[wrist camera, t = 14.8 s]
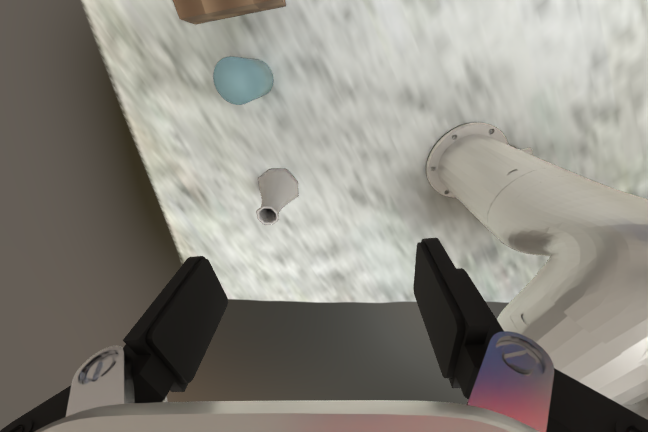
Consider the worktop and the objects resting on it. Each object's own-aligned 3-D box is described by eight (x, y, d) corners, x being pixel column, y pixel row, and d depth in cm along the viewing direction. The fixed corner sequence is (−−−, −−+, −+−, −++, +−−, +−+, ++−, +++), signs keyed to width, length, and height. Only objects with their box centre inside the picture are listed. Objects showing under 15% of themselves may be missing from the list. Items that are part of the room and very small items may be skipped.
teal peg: (268, 56, 33) (248, 52, 24) (276, 93, 35) (261, 101, 27) (237, 62, 33) (206, 60, 25) (247, 98, 36) (222, 107, 27)
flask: (251, 174, 42) (232, 202, 34) (289, 162, 41) (280, 187, 32) (269, 208, 46) (256, 241, 37) (305, 197, 44) (300, 229, 36)
